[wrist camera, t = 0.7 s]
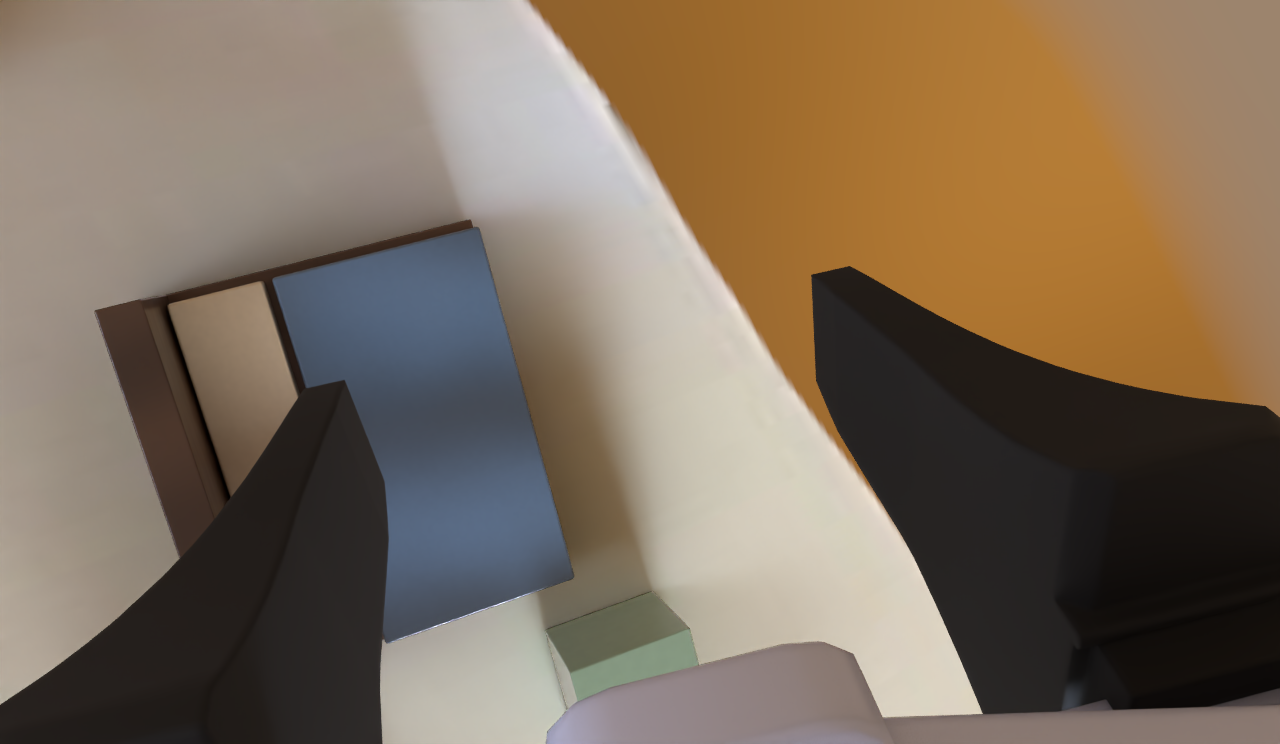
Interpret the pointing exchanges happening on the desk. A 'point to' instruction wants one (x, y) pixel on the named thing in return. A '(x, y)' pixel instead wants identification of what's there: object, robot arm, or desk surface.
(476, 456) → the bed
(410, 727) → the desk surface
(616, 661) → the green cube block
